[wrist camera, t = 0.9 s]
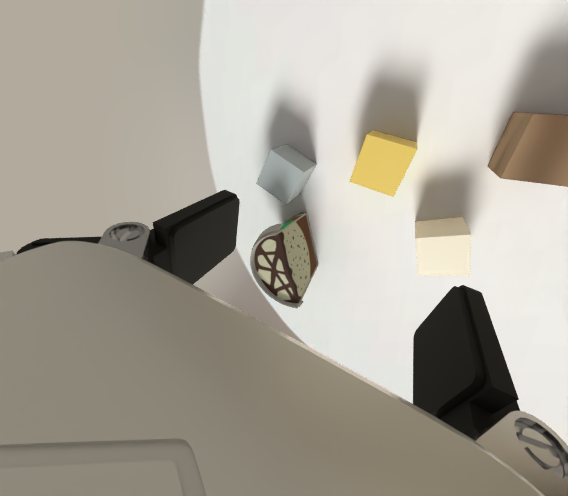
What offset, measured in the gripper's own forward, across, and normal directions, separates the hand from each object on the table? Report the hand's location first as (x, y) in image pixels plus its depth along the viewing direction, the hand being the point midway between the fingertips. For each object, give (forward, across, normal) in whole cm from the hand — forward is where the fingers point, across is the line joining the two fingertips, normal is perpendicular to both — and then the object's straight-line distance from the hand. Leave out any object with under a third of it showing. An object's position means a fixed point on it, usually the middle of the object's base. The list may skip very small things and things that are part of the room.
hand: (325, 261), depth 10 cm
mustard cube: (+24, 0, 0) cm, 24 cm away
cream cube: (+24, -10, +7) cm, 27 cm away
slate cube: (+24, +11, +5) cm, 27 cm away
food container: (+24, +8, +16) cm, 30 cm away
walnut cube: (+24, -12, -5) cm, 28 cm away
